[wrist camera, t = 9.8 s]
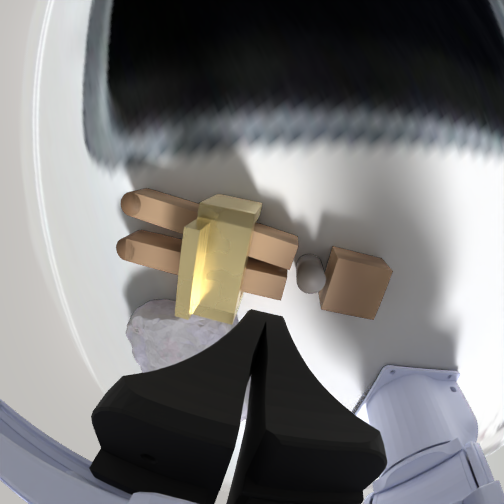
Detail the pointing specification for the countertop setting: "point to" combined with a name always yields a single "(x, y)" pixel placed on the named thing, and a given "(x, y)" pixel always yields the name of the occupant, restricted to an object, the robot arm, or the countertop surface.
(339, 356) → the countertop surface
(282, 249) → the tong arm
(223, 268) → the yellow block
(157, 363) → the stone block
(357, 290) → the tongs fixed
